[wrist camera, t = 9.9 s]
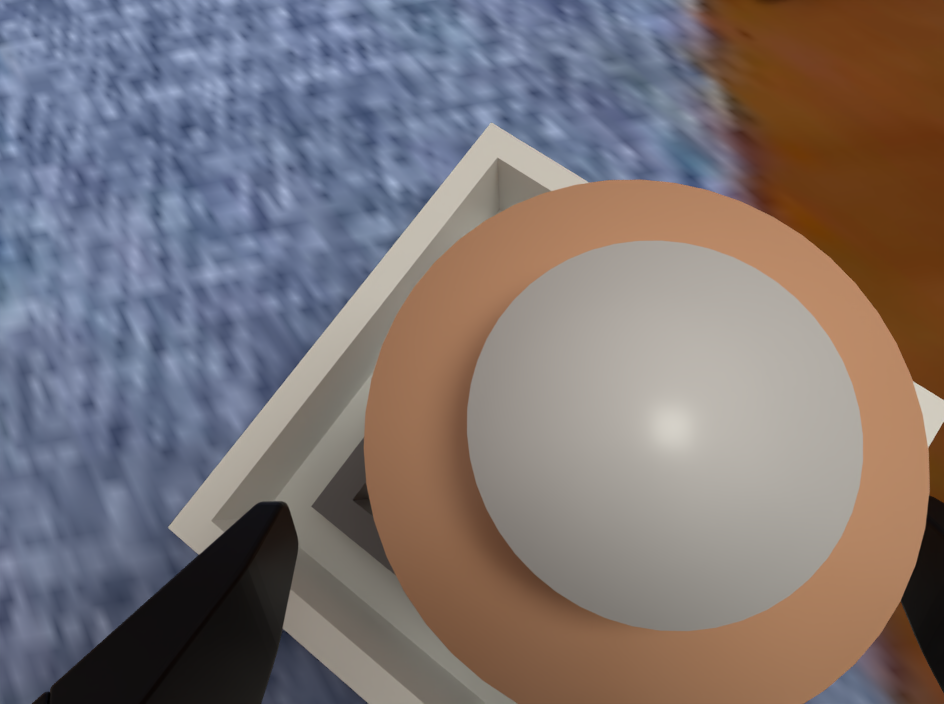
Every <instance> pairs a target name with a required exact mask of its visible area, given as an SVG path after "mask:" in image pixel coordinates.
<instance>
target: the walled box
mask: <svg viewBox="0 0 944 704" xmlns="http://www.w3.org/2000/svg"><path fill="white" fill-rule="evenodd" d="M585 183H589V182H587V181H586V180H584V179H582V178H581V177H579V176H577V175H576V174H574V173H573V172H571V171H569V170H568V169H566V168H564V167H563V166H561V165H559V164H558V163H556V162H555V161H553V160H551V159H550V158H548V157H546V156H545V155H543V154H542V153H540V152H538V151H537V150H535V149H533V148H532V147H530V146H529V145H527V144H525V143H524V142H522V141H520V140H519V139H517V138H516V137H514V136H512V135H511V134H509V133H507V132H506V131H504V130H502V129H501V128H499V127H498V126H496V125H494V124H493V123H491V124H490V125H489V126H488V127H487V129H486V130H485V131H484V132H483V134H482V135H481V136H480V137H479V139H478V140H477V141H476V142H475V144H474V145H473V146H472V147H471V149H470V150H469V151H468V152H467V154H466V155H465V156H464V157H463V159H462V160H461V161H460V162H459V164H458V165H457V166H456V167H455V169H454V170H453V171H452V172H451V174H450V175H449V176H448V177H447V179H446V180H445V181H444V182H443V184H442V185H441V186H440V187H439V189H438V190H437V191H436V192H435V194H434V195H433V196H432V197H431V199H430V200H429V201H428V202H427V204H426V205H425V206H424V207H423V209H422V210H421V211H420V212H419V214H418V215H417V216H416V217H415V219H414V220H413V221H412V222H411V224H410V225H409V226H408V227H407V229H406V230H405V231H404V232H403V234H402V235H401V236H400V237H399V239H398V240H397V241H396V243H395V244H394V245H393V246H392V248H391V249H390V250H389V251H388V253H387V254H386V255H385V256H384V258H383V259H382V260H381V261H380V263H379V264H378V265H377V266H376V268H375V269H374V270H373V271H372V273H371V274H370V275H369V276H368V278H367V279H366V280H365V281H364V283H363V284H362V285H361V286H360V288H359V289H358V290H357V291H356V293H355V294H354V295H353V296H352V298H351V299H350V300H349V301H348V303H347V304H346V305H345V306H344V308H343V309H342V310H341V311H340V313H339V314H338V315H337V316H336V318H335V319H334V320H333V321H332V323H331V324H330V325H329V326H328V328H327V329H326V330H325V331H324V333H323V334H322V335H321V336H320V338H319V339H318V340H317V341H316V343H315V344H314V345H313V346H312V348H311V349H310V350H309V351H308V353H307V354H306V355H305V356H304V358H303V359H302V360H301V361H300V363H299V364H298V365H297V366H296V368H295V369H294V370H293V371H292V373H291V374H290V375H289V377H288V378H287V379H286V380H285V382H284V383H283V384H282V385H281V387H280V388H279V389H278V390H277V392H276V393H275V394H274V395H273V397H272V398H271V399H270V400H269V402H268V403H267V404H266V405H265V407H264V408H263V409H262V410H261V412H260V413H259V414H258V415H257V417H256V418H255V419H254V420H253V422H252V423H251V424H250V425H249V427H248V428H247V429H246V430H245V432H244V433H243V434H242V435H241V437H240V438H239V439H238V440H237V442H236V443H235V444H234V445H233V447H232V448H231V449H230V450H229V452H228V453H227V454H226V455H225V457H224V458H223V459H222V460H221V462H220V463H219V464H218V465H217V467H216V468H215V469H214V470H213V472H212V473H211V474H210V475H209V477H208V478H207V479H206V480H205V482H204V483H203V484H202V485H201V487H200V488H199V489H198V490H197V492H196V493H195V494H194V495H193V497H192V498H191V499H190V500H189V502H188V503H187V504H186V505H185V507H184V508H183V509H182V511H181V512H180V513H179V514H178V516H177V517H176V518H175V519H174V521H173V522H172V523H171V524H170V526H169V527H168V528H169V529H170V530H171V531H172V532H173V533H175V534H176V535H177V536H178V537H179V538H180V539H181V540H183V541H184V542H185V543H186V544H187V545H188V546H189V547H191V548H192V549H193V550H194V551H195V552H196V553H197V554H200V553H202V552H203V551H204V550H205V549H206V548H207V547H208V546H209V545H211V544H212V543H213V542H214V541H215V540H216V539H217V538H218V537H220V536H221V535H222V534H223V533H224V532H225V531H226V530H227V529H228V528H230V527H231V526H232V525H233V524H234V523H235V522H236V521H237V520H239V519H240V518H241V517H242V516H243V515H244V514H245V513H246V512H248V511H249V510H250V509H251V508H252V507H253V506H254V505H256V504H257V503H259V502H262V501H283V502H285V503H287V505H288V507H289V509H290V512H291V516H292V519H293V523H294V526H295V529H296V533H297V536H298V555H297V560H296V564H295V569H294V574H293V579H292V584H291V589H290V594H289V599H288V604H287V609H286V614H285V619H284V624H283V629H284V630H285V631H286V632H287V633H289V634H290V635H291V636H292V637H293V638H294V639H295V640H297V641H298V642H299V643H300V644H301V645H302V646H303V647H305V648H306V649H307V650H308V651H309V652H310V653H311V654H313V655H314V656H315V657H316V658H317V659H318V660H319V661H321V662H322V663H323V664H324V665H325V666H326V667H327V668H329V669H330V670H331V671H332V672H333V673H334V674H335V675H337V676H338V677H339V678H340V679H341V680H342V681H343V682H344V683H346V684H347V685H348V686H349V687H350V688H351V689H352V690H354V691H355V692H356V693H357V694H358V695H359V696H360V697H362V698H363V699H364V700H365V701H366V702H367V703H368V704H518V703H516V702H514V701H513V700H511V699H510V698H508V697H507V696H505V695H504V694H502V693H501V692H499V691H498V690H496V689H495V688H493V687H492V686H490V685H489V684H487V683H486V682H484V681H483V680H482V679H480V678H479V677H478V676H477V675H476V674H475V673H474V672H472V671H471V670H470V669H469V668H468V667H467V666H466V665H464V664H463V663H462V662H461V661H460V660H459V659H458V658H456V657H455V656H454V655H453V654H452V653H451V652H450V651H449V650H448V648H447V647H446V646H445V645H444V644H443V643H442V642H441V640H440V639H439V638H438V637H437V636H436V635H435V634H434V633H433V631H432V630H431V629H430V628H429V627H428V626H427V625H426V623H425V622H424V620H423V619H422V617H421V616H420V614H419V613H418V611H417V610H416V608H415V607H414V605H413V604H412V603H411V601H410V600H409V598H408V597H407V595H406V594H405V592H404V590H403V588H402V586H401V584H400V582H399V580H398V578H397V576H396V574H395V572H394V570H393V568H392V566H391V564H390V562H389V560H388V558H387V556H386V553H385V551H384V548H383V545H382V542H381V539H380V536H379V533H378V531H377V528H376V525H375V522H374V518H373V513H372V508H371V504H370V499H369V494H368V489H367V485H366V472H365V459H364V431H365V412H366V407H367V401H368V395H369V390H370V384H371V379H372V376H373V372H374V369H375V366H376V363H377V360H378V357H379V353H380V350H381V347H382V345H383V342H384V340H385V338H386V336H387V334H388V332H389V330H390V327H391V325H392V323H393V321H394V319H395V317H396V315H397V313H398V312H399V310H400V308H401V307H402V305H403V304H404V302H405V301H406V299H407V297H408V296H409V294H410V293H411V291H412V290H413V288H414V287H415V285H416V284H417V283H418V282H419V281H420V279H421V278H422V277H423V276H424V275H425V273H426V272H427V271H428V270H429V268H430V267H431V266H432V265H433V264H434V262H435V261H436V260H438V259H439V258H440V257H441V256H442V255H443V254H444V253H445V252H446V251H447V250H448V249H449V248H450V247H451V246H453V245H454V244H455V243H456V242H457V241H458V240H459V239H460V238H462V237H463V236H465V235H466V234H467V233H469V232H470V231H471V230H473V229H474V228H476V227H477V226H478V225H480V224H481V223H483V222H484V221H485V220H487V219H489V218H491V217H493V216H495V215H496V214H498V213H500V212H502V211H504V210H506V209H507V208H509V207H511V206H513V205H515V204H518V203H520V202H523V201H525V200H528V199H530V198H533V197H535V196H538V195H540V194H543V193H546V192H550V191H554V190H558V189H561V188H565V187H569V186H573V185H578V184H585ZM913 384H914V387H915V390H916V394H917V397H918V401H919V404H920V407H921V411H922V414H923V420H924V426H925V432H926V438H927V445H928V447H929V445H930V444H931V442H932V440H933V439H934V437H935V435H936V434H937V432H938V430H939V429H940V427H941V425H942V423H943V422H944V400H942V399H941V398H939V397H938V396H936V395H934V394H933V393H931V392H929V391H928V390H926V389H924V388H923V387H921V386H920V385H918V384H916V383H915V382H913Z"/></svg>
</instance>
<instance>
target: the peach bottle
mask: <svg viewBox="0 0 944 704" xmlns="http://www.w3.org/2000/svg"><path fill="white" fill-rule="evenodd" d="M364 459H365V472H366V485H367V489H368V494H369V499H370V504H371V508H372V513H373V518H374V522H375V525H376V528H377V531H378V533H379V536H380V539H381V542H382V545H383V548H384V551H385V553H386V556H387V558H388V560H389V562H390V564H391V566H392V568H393V570H394V572H395V574H396V576H397V578H398V580H399V582H400V584H401V586H402V588H403V590H404V592H405V594H406V595H407V597H408V598H409V600H410V601H411V603H412V604H413V605H414V607H415V608H416V610H417V611H418V613H419V614H420V616H421V617H422V619H423V620H424V622H425V623H426V625H427V626H428V627H429V628H430V629H431V630H432V631H433V633H434V634H435V635H436V636H437V637H438V638H439V639H440V640H441V642H442V643H443V644H444V645H445V646H446V647H447V648H448V650H449V651H450V652H451V653H452V654H453V655H454V656H455V657H456V658H458V659H459V660H460V661H461V662H462V663H463V664H464V665H466V666H467V667H468V668H469V669H470V670H471V671H472V672H474V673H475V674H476V675H477V676H478V677H479V678H480V679H482V680H483V681H484V682H486V683H487V684H489V685H490V686H492V687H493V688H495V689H496V690H498V691H499V692H501V693H502V694H504V695H505V696H507V697H508V698H510V699H511V700H513V701H514V702H516V703H518V704H804V703H805V702H807V701H808V700H810V699H812V698H813V697H815V696H816V695H818V694H819V693H821V692H823V691H824V690H826V689H827V688H828V687H829V686H830V685H831V684H833V683H834V682H835V681H836V680H837V679H838V678H839V677H841V676H842V675H843V674H844V673H845V672H846V671H847V670H849V669H850V668H851V667H852V666H853V665H854V664H855V663H856V662H857V661H858V660H859V659H860V657H861V656H862V655H863V654H864V653H865V651H866V650H867V649H868V648H869V647H870V645H871V644H872V643H873V642H874V641H875V640H876V638H877V637H878V636H879V635H880V633H881V632H882V630H883V629H884V627H885V625H886V624H887V622H888V620H889V619H890V617H891V615H892V614H893V612H894V611H895V609H896V607H897V606H898V604H899V602H900V601H901V598H902V596H903V594H904V591H905V589H906V587H907V584H908V582H909V580H910V577H911V575H912V572H913V570H914V568H915V565H916V562H917V558H918V554H919V550H920V546H921V542H922V539H923V535H924V531H925V526H926V517H927V508H928V499H929V491H930V486H929V451H928V445H927V438H926V432H925V426H924V420H923V414H922V411H921V407H920V404H919V401H918V397H917V394H916V390H915V387H914V384H913V380H912V377H911V375H910V373H909V371H908V368H907V366H906V364H905V362H904V359H903V357H902V355H901V353H900V350H899V348H898V346H897V344H896V342H895V340H894V339H893V337H892V335H891V334H890V332H889V330H888V329H887V327H886V325H885V324H884V322H883V320H882V319H881V317H880V315H879V314H878V312H877V311H876V309H875V308H874V307H873V306H872V304H871V303H870V302H869V300H868V299H867V298H866V297H865V295H864V294H863V293H862V291H861V290H860V289H859V287H858V286H857V285H856V284H855V283H854V282H853V281H852V280H851V279H850V278H849V276H848V275H847V274H846V273H845V272H844V271H843V270H842V269H841V268H840V267H839V266H838V265H837V264H836V263H835V262H834V261H833V260H832V259H831V258H830V257H828V256H827V255H826V254H825V253H824V252H822V251H821V250H820V249H819V248H817V247H816V246H815V245H814V244H812V243H811V242H810V241H809V240H807V239H806V238H805V237H804V236H802V235H801V234H799V233H798V232H796V231H794V230H793V229H791V228H790V227H788V226H786V225H785V224H783V223H782V222H780V221H778V220H777V219H775V218H774V217H772V216H770V215H768V214H766V213H764V212H762V211H760V210H757V209H755V208H753V207H751V206H749V205H747V204H745V203H743V202H741V201H738V200H735V199H732V198H729V197H726V196H723V195H720V194H717V193H714V192H712V191H709V190H704V189H700V188H695V187H691V186H686V185H682V184H677V183H669V182H659V181H649V180H607V181H599V182H592V183H585V184H578V185H573V186H569V187H565V188H561V189H558V190H554V191H550V192H546V193H543V194H540V195H538V196H535V197H533V198H530V199H528V200H525V201H523V202H520V203H518V204H515V205H513V206H511V207H509V208H507V209H506V210H504V211H502V212H500V213H498V214H496V215H495V216H493V217H491V218H489V219H487V220H485V221H484V222H483V223H481V224H480V225H478V226H477V227H476V228H474V229H473V230H471V231H470V232H469V233H467V234H466V235H465V236H463V237H462V238H460V239H459V240H458V241H457V242H456V243H455V244H454V245H453V246H451V247H450V248H449V249H448V250H447V251H446V252H445V253H444V254H443V255H442V256H441V257H440V258H439V259H438V260H436V261H435V262H434V264H433V265H432V266H431V267H430V268H429V270H428V271H427V272H426V273H425V275H424V276H423V277H422V278H421V279H420V281H419V282H418V283H417V284H416V285H415V287H414V288H413V290H412V291H411V293H410V294H409V296H408V297H407V299H406V301H405V302H404V304H403V305H402V307H401V308H400V310H399V312H398V313H397V315H396V317H395V319H394V321H393V323H392V325H391V327H390V330H389V332H388V334H387V336H386V338H385V340H384V342H383V345H382V347H381V350H380V353H379V357H378V360H377V363H376V366H375V369H374V372H373V376H372V379H371V384H370V390H369V395H368V401H367V407H366V412H365V431H364Z"/></svg>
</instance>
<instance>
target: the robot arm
mask: <svg viewBox="0 0 944 704" xmlns="http://www.w3.org/2000/svg"><path fill="white" fill-rule="evenodd" d="M297 555H298V536H297V533H296V529H295V526H294V523H293V519H292V516H291V512H290V509H289V507H288V505H287V503H285V502H283V501H262V502H259V503H257V504H256V505H254V506H253V507H252V508H251V509H250V510H249V511H248V512H246V513H245V514H244V515H243V516H242V517H241V518H240V519H239V520H237V521H236V522H235V523H234V524H233V525H232V526H231V527H230V528H228V529H227V530H226V531H225V532H224V533H223V534H222V535H221V536H220V537H218V538H217V539H216V540H215V541H214V542H213V543H212V544H211V545H209V546H208V547H207V548H206V549H205V550H204V551H203V552H202V553H200V554H199V555H198V556H197V557H196V558H195V559H194V560H193V561H191V562H190V563H189V564H188V565H187V566H186V567H185V568H184V569H183V570H181V571H180V572H179V573H178V574H177V575H176V576H175V577H174V578H172V579H171V580H170V581H169V582H168V583H167V584H166V585H165V586H163V587H162V588H161V589H160V590H159V591H158V592H157V593H156V594H155V595H153V596H152V597H151V598H150V599H149V600H148V601H147V602H146V603H144V604H143V605H142V606H141V607H140V608H139V609H138V610H137V611H135V612H134V613H133V614H132V615H131V616H130V617H129V618H128V619H126V620H125V621H124V622H123V623H122V624H121V625H120V626H119V627H118V628H116V629H115V630H114V631H113V632H112V633H111V634H110V635H109V636H107V637H106V638H105V639H104V640H103V641H102V642H101V643H100V644H98V645H97V646H96V647H95V648H94V649H93V650H92V651H91V652H90V653H88V654H87V655H86V656H85V657H84V658H83V659H82V660H81V661H79V662H78V663H77V664H76V665H75V666H74V667H73V668H72V669H70V670H69V671H68V672H67V673H66V674H65V675H64V676H63V677H61V678H60V679H59V680H58V681H57V682H56V683H55V684H54V685H53V686H52V687H51V689H50V692H45V693H43V694H42V695H41V696H40V697H39V698H38V699H37V700H35V701H34V702H33V703H32V704H261V702H262V699H263V696H264V693H265V690H266V686H267V683H268V680H269V677H270V674H271V671H272V668H273V664H274V661H275V657H276V654H277V651H278V647H279V642H280V638H281V633H282V628H283V624H284V619H285V614H286V609H287V604H288V599H289V594H290V589H291V584H292V579H293V574H294V569H295V564H296V560H297ZM901 603H902V605H903V608H904V610H905V613H906V615H907V617H908V620H909V622H910V625H911V627H912V630H913V632H914V635H915V637H916V639H917V641H918V643H919V646H920V648H921V650H922V652H923V654H924V656H925V658H926V660H927V662H928V664H929V666H930V668H931V670H932V672H933V674H934V676H935V678H936V680H937V681H938V683H939V685H940V687H941V689H942V691H943V693H944V503H943V502H941V501H939V500H938V499H936V498H934V497H932V496H929V499H928V508H927V517H926V526H925V531H924V535H923V539H922V542H921V546H920V550H919V554H918V558H917V562H916V565H915V568H914V570H913V572H912V575H911V577H910V580H909V582H908V584H907V587H906V589H905V591H904V594H903V596H902V598H901Z"/></svg>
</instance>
